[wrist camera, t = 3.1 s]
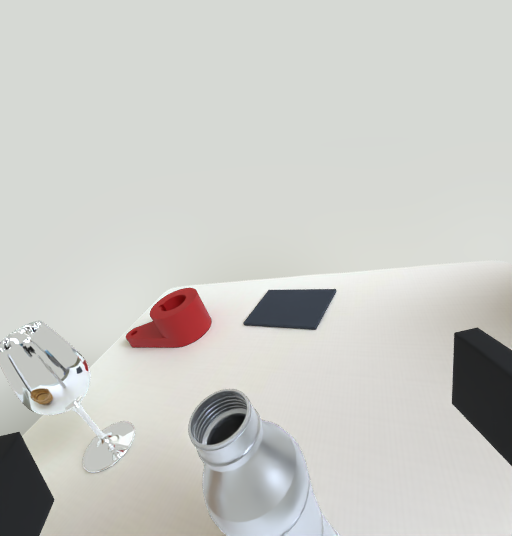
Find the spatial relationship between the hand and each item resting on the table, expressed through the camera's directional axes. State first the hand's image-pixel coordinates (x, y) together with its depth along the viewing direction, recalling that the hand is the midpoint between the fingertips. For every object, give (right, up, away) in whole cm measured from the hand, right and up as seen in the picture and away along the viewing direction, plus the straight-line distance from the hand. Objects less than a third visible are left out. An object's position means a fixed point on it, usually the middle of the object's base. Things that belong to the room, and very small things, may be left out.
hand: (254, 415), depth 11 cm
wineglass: (-20, -20, +38) cm, 47 cm away
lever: (-17, -9, +58) cm, 61 cm away
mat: (+6, -3, +51) cm, 51 cm away
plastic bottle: (+5, -20, +16) cm, 27 cm away
